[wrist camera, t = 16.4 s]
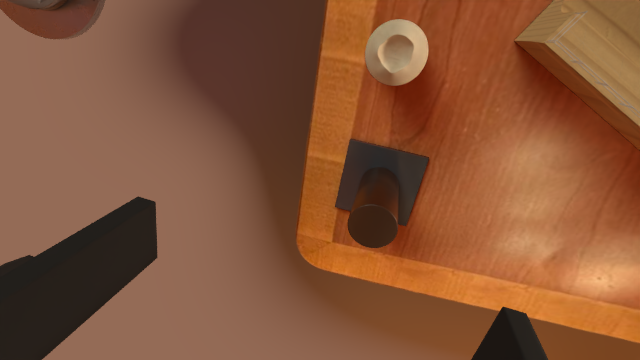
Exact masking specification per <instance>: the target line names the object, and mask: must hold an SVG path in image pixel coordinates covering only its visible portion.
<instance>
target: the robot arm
mask: <svg viewBox="0 0 640 360" xmlns="http://www.w3.org/2000/svg"><path fill="white" fill-rule="evenodd" d="M7 1H10V2H12V3H14V4H17V5H20V6H23V7H26V8H29V9H38V10H53V9H56V8H58V7H60V6H62V5H63V4H64V3H65V2H66V1H67V0H7ZM155 205H156V204H155V202H154V201H151V200H147V199H144V198H141V197H136V198H135V199H133V200H131V201H130V202H128V203H126V204H125V205H123V206H121V207H119V208H118V209H116V210H114V211H112V212H111V213H109V214H107V215H106V216H104V217H102V218H100V219H99V220H97V221H96V222H94V223H92V224H90V225H89V226H87V227H85V228H83V229H82V230H80V231H78V232H77V233H75V234H73V235H71V236H70V237H68V238H66V239H64V240H63V241H61V242H59V243H58V244H56V245H54V246H52V247H51V248H49V249H47V250H46V251H44V252H42V253H40V254H39V255H37V256H35V257H33V256H30V255H28V256H26V257H22V258H19V259H16V260H14V261H11V262H8V263H5V264H3V265H1V266H0V360H42V359H43V358H44V357H45V356H47V355H48V354H49V353H50V352H51V351H52V350H53V349H54V348H56V347H57V346H58V345H59V344H60V343H61V342H62V341H63V340H65V339H66V338H67V337H68V336H69V335H70V334H71V333H72V332H74V331H75V330H76V329H77V328H78V327H79V326H80V325H81V324H83V323H84V322H85V321H86V320H87V319H88V318H90V317H91V316H92V315H93V314H94V313H95V312H96V311H97V310H99V309H100V308H101V307H102V306H103V305H104V304H105V303H106V302H108V301H109V300H110V299H111V298H112V297H113V296H114V295H115V294H117V293H118V292H119V291H120V290H121V289H122V288H124V286H126V285H127V284H128V283H129V282H130V281H131V280H133V279H134V278H135V277H136V276H137V275H138V274H139V273H140V272H142V270H144V269H145V268H146V267H147V266H148V265H150V264H151V263H152V262H153V261H154V260H155V259H156V258H157V233H156V206H155ZM471 360H548V358H547V356H546V354H545V352H544V350H543V348H542V346H541V343H540V341H539V339H538V337H537V335H536V333H535V331H534V329H533V327H532V325H531V322H530V320H529V318H528V316H527V314H526V313H523V312H519V311H516V310H513V309H509V308H506V307H502V309H501V310H500V312H499V314H498V316H497V317H496V319H495V321H494V322H493V324H492V326H491V328H490V329H489V331H488V332H487V334H486V336H485V338H484V339H483V341H482V342H481V344H480V346H479V348H478V349H477V351H476V353H475V354H474V356H473V358H472V359H471Z"/></svg>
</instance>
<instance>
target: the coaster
mask: <svg viewBox="0 0 640 360" xmlns="http://www.w3.org/2000/svg"><path fill="white" fill-rule="evenodd" d="M428 160H429V157H426V156H422V155H417V154H413V153H409V152H405V151H401V150H396V149H392V148H388V147H384V146H380V145H376V144H371V143H367V142H363V141H359V140H355V139H350V142H349V147H348V151H347V156H346V160H345V164H344V169H343V173H342V178H341V182H340V187H339V191H338V196H337V200H336V205H335V207H337V208H341V209H344V210H348V211H351V209H352V206H353V203H354V200H355V197H356V193H357V190H358V187H359V184H360V180H361V178H362V176H363V174H364V173H365V172H366V171H368V170H369V169H371V168H375V167H383V168H386V169H389V170H390V171H392V172H393V173H394V174H395V175H396V177H397V179H398V182H399V198H398V224H399V225H403V226H406V225H407V222H408V219H409V216H410V213H411V210H412V207H413V204H414V201H415V198H416V196H417V193H418V190H419V187H420V184H421V181H422V178H423V175H424V172H425V169H426V166H427V163H428Z"/></svg>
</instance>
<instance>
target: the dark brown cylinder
mask: <svg viewBox="0 0 640 360" xmlns="http://www.w3.org/2000/svg"><path fill="white" fill-rule="evenodd" d="M398 198H399V182H398V179H397V177H396V175H395V174H394V173H393V172H392V171H390V170H389V169H386V168H383V167H375V168H371V169H369V170H368V171H366V172H365V173H364V174H363V176H362V178H361V180H360V184H359V187H358V190H357V193H356V197H355V200H354V203H353V206H352V209H351V213H350V216H349V219H348V230H349V233H350V235H351V236H352V238H353V239H354V240H355V241H356V242H358V243H359V244H361V245H363V246H366V247H369V248H379V247H383V246H386V245H388V244H389V243H391V242H392V241H393V240H394V238H395V237H396V235H397V231H398Z"/></svg>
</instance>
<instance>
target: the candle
mask: <svg viewBox="0 0 640 360" xmlns="http://www.w3.org/2000/svg"><path fill="white" fill-rule="evenodd" d="M427 58H428V42H427V39H426V36H425V34H424V33H423V31H422V30H421V29H420V28H419V27H418V26H417V25H416V24H414V23H413V22H410V21H407V20H402V19H397V20H391V21H388V22H386V23H384V24H382V25H381V26H379V27H378V28H377V29H376V30H375V31H374V32H373V33H372V35H371V36H370V38H369V40H368V42H367V45H366V50H365V61H366V65H367V68H368V70H369V72H370V73H371V75H372V76H373V77H374V78H375V79H376V80H378V81H379V82H381V83H383V84H386V85H391V86H397V85H402V84H405V83H408V82H410V81H411V80H413V79H414V78H415V77H417V76H418V75H419V73H420V72H421V71H422V69H423V68H424V66H425V64H426V61H427Z"/></svg>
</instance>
